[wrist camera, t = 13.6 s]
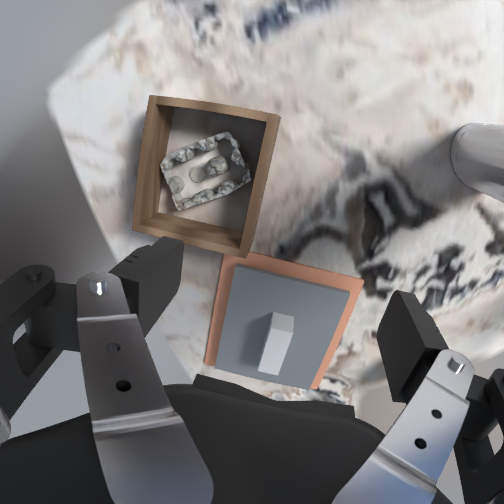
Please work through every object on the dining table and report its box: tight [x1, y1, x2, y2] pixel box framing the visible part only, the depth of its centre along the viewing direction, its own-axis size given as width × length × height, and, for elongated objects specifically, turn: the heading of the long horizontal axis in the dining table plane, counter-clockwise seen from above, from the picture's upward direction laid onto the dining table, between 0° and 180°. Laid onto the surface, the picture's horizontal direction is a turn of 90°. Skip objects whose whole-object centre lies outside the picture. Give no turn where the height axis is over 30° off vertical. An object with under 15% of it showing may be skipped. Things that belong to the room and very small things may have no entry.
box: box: [132, 95, 281, 259], centre depth 39 cm, size 15×17×6 cm
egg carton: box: [160, 132, 251, 211], centre depth 40 cm, size 11×8×4 cm
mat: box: [205, 252, 364, 389], centre depth 49 cm, size 20×22×1 cm
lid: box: [215, 263, 350, 390], centre depth 46 cm, size 16×19×6 cm
